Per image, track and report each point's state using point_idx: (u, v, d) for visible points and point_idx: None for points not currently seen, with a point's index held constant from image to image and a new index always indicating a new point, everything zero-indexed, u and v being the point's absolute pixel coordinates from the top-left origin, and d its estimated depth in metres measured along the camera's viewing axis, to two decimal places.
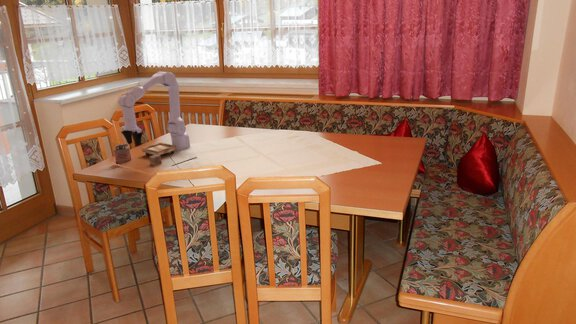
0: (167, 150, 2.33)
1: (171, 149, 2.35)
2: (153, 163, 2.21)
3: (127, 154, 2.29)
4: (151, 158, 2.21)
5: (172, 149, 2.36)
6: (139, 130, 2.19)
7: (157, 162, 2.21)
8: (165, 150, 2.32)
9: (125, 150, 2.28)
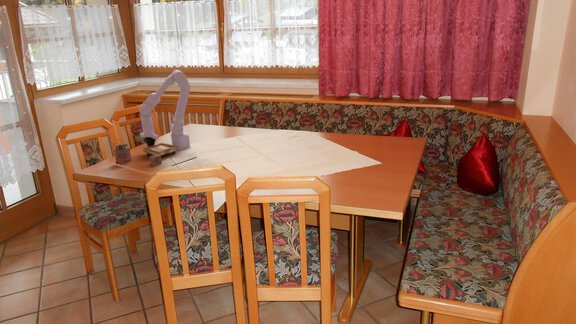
0: (168, 150, 2.33)
1: (172, 149, 2.35)
2: (153, 163, 2.21)
3: (127, 154, 2.29)
4: (151, 158, 2.21)
5: (173, 149, 2.35)
6: (157, 137, 2.35)
7: (157, 162, 2.21)
8: (166, 150, 2.32)
9: (125, 150, 2.28)
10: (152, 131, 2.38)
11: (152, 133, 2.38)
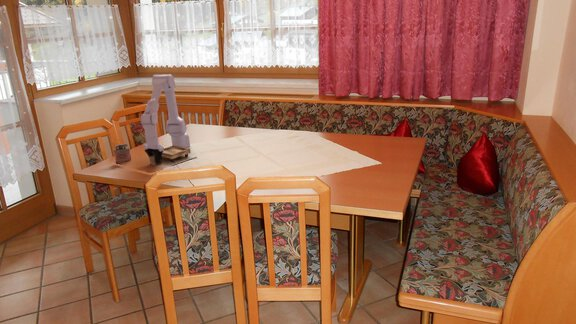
0: (181, 153, 2.26)
1: (185, 152, 2.28)
2: (153, 163, 2.21)
3: (127, 154, 2.29)
4: (151, 158, 2.21)
5: (186, 152, 2.28)
6: (161, 148, 2.16)
7: None
8: (179, 153, 2.25)
9: (125, 150, 2.28)
10: (156, 142, 2.18)
11: (156, 144, 2.18)
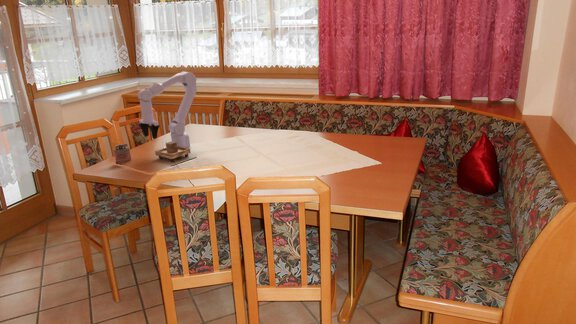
0: (181, 153, 2.26)
1: (185, 152, 2.28)
2: (169, 149, 2.27)
3: (127, 154, 2.29)
4: (168, 144, 2.27)
5: (186, 152, 2.28)
6: (156, 123, 2.30)
7: (173, 148, 2.28)
8: (179, 153, 2.25)
9: (125, 150, 2.28)
10: (151, 117, 2.32)
11: (151, 119, 2.32)
